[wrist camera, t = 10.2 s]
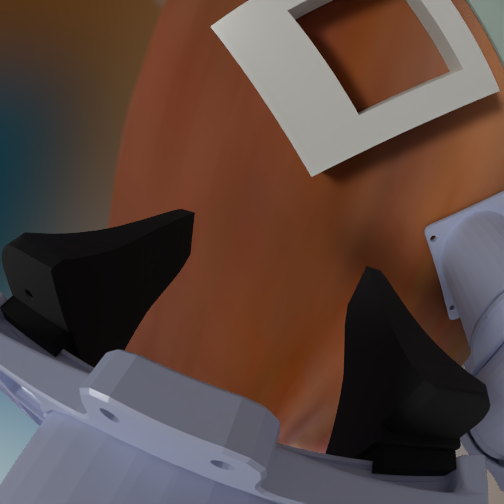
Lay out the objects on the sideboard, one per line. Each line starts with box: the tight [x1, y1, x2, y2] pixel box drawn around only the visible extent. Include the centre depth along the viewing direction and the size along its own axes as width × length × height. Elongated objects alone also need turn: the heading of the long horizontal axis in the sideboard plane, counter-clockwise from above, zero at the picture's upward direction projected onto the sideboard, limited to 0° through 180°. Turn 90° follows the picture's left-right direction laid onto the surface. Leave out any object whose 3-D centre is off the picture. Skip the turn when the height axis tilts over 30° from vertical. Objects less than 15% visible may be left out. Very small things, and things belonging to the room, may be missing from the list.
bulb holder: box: [211, 0, 500, 177], centre depth 14 cm, size 12×14×2 cm
